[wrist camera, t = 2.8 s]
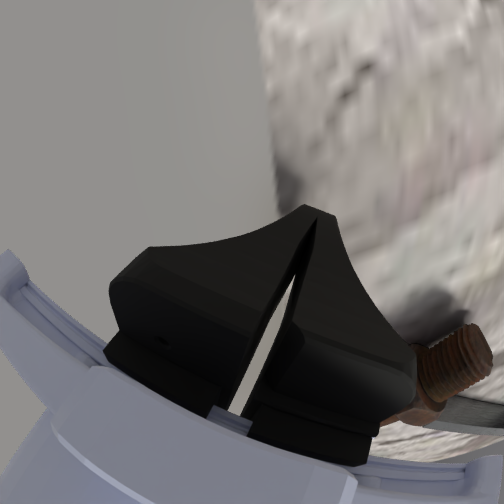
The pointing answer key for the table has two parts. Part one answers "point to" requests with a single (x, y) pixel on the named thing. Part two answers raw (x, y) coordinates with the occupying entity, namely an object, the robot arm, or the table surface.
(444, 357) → the bolt
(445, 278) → the table surface
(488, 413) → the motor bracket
